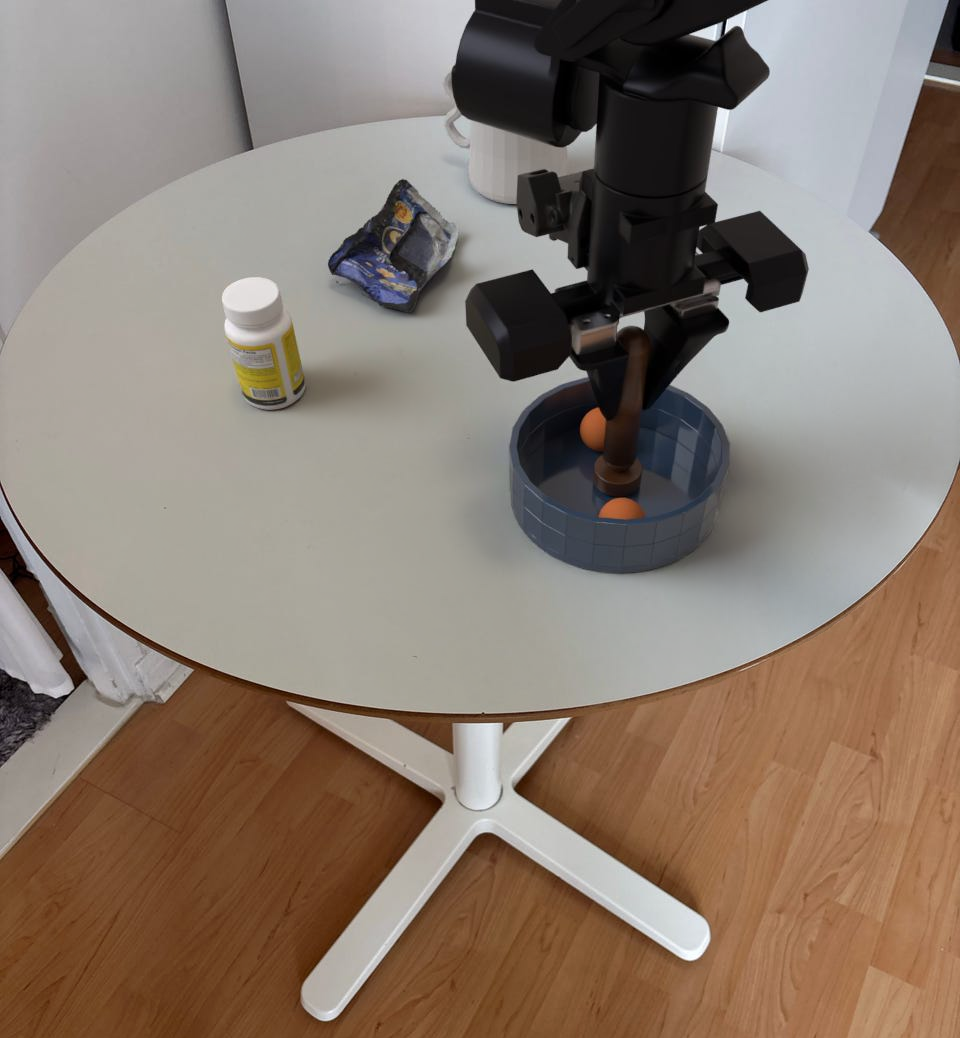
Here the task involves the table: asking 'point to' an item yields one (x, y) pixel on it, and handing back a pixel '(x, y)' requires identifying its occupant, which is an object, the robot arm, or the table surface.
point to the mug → (500, 154)
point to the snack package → (397, 249)
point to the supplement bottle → (262, 343)
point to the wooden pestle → (625, 422)
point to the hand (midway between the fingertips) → (624, 410)
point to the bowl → (577, 502)
